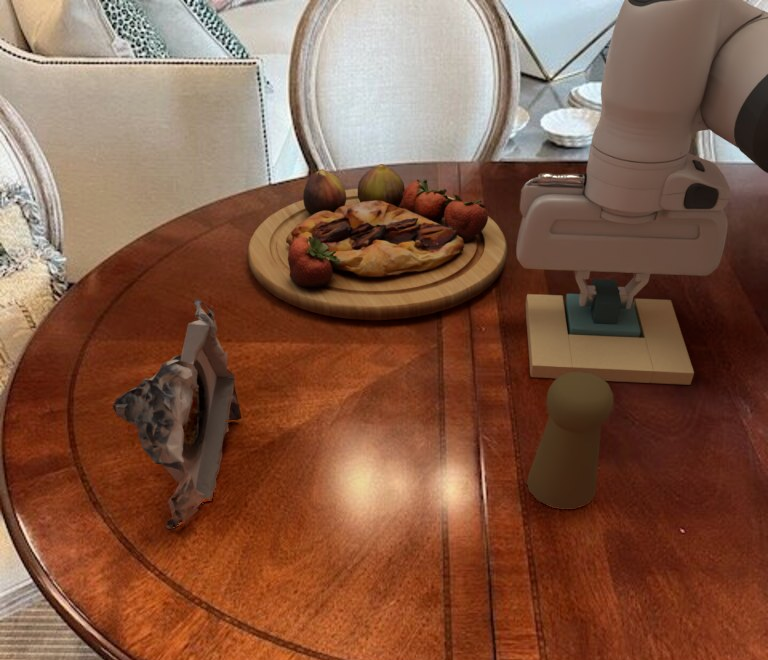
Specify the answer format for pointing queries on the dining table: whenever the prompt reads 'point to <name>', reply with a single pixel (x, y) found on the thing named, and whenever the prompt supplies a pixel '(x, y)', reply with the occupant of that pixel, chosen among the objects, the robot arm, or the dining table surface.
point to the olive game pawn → (571, 441)
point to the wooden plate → (377, 249)
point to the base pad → (608, 345)
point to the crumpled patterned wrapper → (186, 415)
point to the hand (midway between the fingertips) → (604, 305)
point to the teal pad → (599, 330)
